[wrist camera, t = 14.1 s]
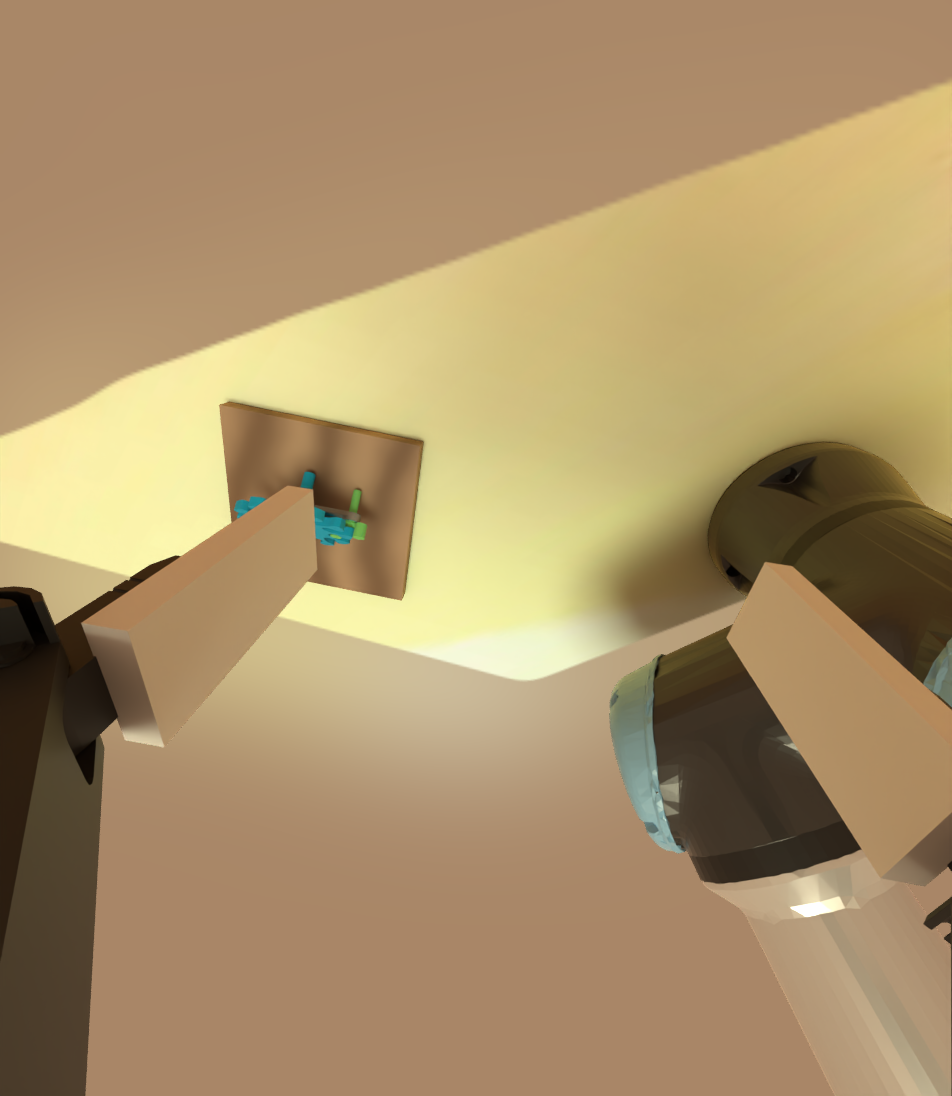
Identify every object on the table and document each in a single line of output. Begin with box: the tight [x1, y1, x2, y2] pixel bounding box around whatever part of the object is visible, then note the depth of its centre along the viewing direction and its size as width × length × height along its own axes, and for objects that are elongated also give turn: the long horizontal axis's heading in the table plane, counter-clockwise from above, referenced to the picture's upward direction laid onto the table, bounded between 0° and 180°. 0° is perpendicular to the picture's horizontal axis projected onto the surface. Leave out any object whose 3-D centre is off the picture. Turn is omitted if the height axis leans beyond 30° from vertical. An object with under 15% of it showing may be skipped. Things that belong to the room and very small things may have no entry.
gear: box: [234, 472, 367, 546], centre depth 39 cm, size 11×6×10 cm
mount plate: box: [219, 402, 423, 600], centre depth 43 cm, size 18×17×2 cm
